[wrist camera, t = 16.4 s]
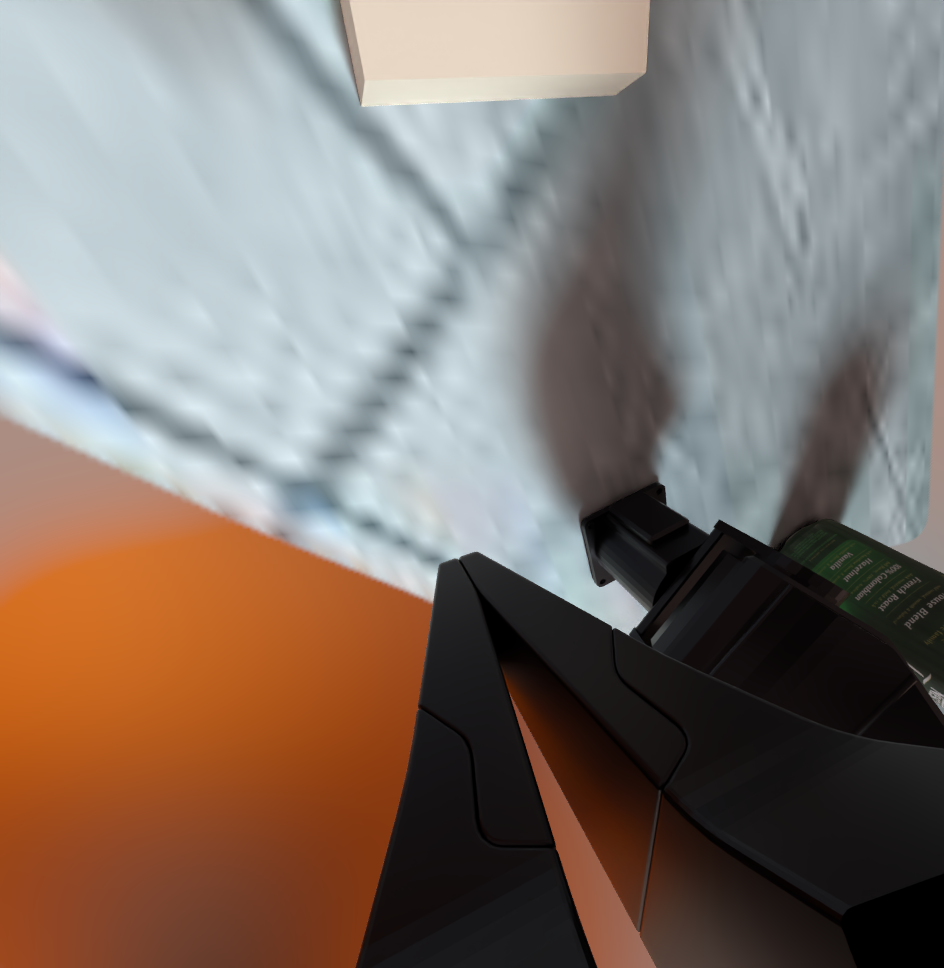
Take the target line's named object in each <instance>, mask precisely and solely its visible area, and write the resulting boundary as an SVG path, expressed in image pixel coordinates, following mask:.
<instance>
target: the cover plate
mask: <svg viewBox="0 0 944 968" xmlns="http://www.w3.org/2000/svg"><path fill="white" fill-rule="evenodd" d="M340 3H341V8H342V13H343V18H344V23H345V28H346V33H347V38H348V43H349V48H350V53H351V58H352V63H353V68H354V73H355V78H356V83H357V88H358V93H359V98H360V103H361V107H364V106H386V105H409V104H432V103H455V102H478V101H501V100H523V99H546V98H569V97H592V96H615V95H616V94H618V93H619V92H620V91H622V90H623V89H625V88H626V87H627V86H629V85H630V84H631V83H633V82H634V81H635V80H637V79H638V78H639V77H641V76H642V75H644V74H645V73H646V65H647V47H648V28H649V9H650V0H340Z"/></svg>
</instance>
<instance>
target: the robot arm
mask: <svg viewBox="0 0 944 968" xmlns="http://www.w3.org/2000/svg"><path fill="white" fill-rule="evenodd" d="M657 489H658V490H657ZM590 523H591V524H590ZM589 524H590V525H589ZM588 525H589V526H588ZM581 526H582V531H583V535H584V540H585V544H586V548H587V553H588V557H589V562H590V566H591V570H592V575H593V579H594V582H595V583H596V585H597V586H599V587H603V586H605V585H607V584H609V583H610V582H612V581H614V580H617V581H618V582H619V583H620V584H621V585H622V586H623V587H624V588H625V589H626V590H627V591H628V592H629V593H630V594H631V595H632V596H633V597H634V598H635V599H636V600H637V601H638V602H639V603H640V604H641V605H642V606H643V607H644V608H645V609H646V610H647V611H648V613H647V615H646V616H645V617H644V618H643V620H642V621H641V622H640V624H639V625H638V626H637V627H636V628H635V627H634V628H633V630H632V631H631V632H630V634H629V635H630V636H629V635H627V634H625V633H623V632H622V631H620V630H618V629H616V628H614V629H613V630H612V627H611V626H610V625H609V624H607V623H605V622H603V621H601V620H600V619H598V618H596V617H594V616H592V615H591V614H589V613H587V612H585V611H583V610H582V609H580V608H578V607H576V606H574V605H573V604H571V603H569V602H567V601H565V600H564V599H562V598H560V597H558V596H556V595H555V594H553V593H551V592H549V591H547V590H546V589H544V588H542V587H540V586H538V585H537V584H535V583H533V582H531V581H529V580H528V579H526V578H524V577H522V576H520V575H519V574H517V573H515V572H513V571H511V570H510V569H508V568H506V567H504V566H502V565H501V564H499V563H497V562H495V561H493V560H492V559H490V558H488V557H486V556H484V555H483V554H481V553H479V552H473V553H470V554H467V555H464V556H461V557H460V558H459V560H458V559H452V560H449V561H446V562H443V563H441V564H440V565H439V568H438V574H437V581H436V588H435V594H434V601H433V608H432V615H431V621H430V629H429V635H428V642H427V648H426V656H425V662H424V669H423V675H422V682H421V689H420V695H419V702H418V709H419V710H418V711H417V714H416V721H415V727H414V735H413V740H412V745H411V751H410V756H409V762H408V767H407V772H406V777H405V781H404V785H403V789H402V794H401V798H400V802H399V806H398V810H397V814H396V818H395V822H394V826H393V829H392V833H391V837H390V841H389V844H388V848H387V852H386V856H385V859H384V863H383V867H382V871H381V874H380V878H379V882H378V886H377V889H376V893H375V897H374V901H373V904H372V908H371V912H370V916H369V919H368V923H367V927H366V931H365V935H364V938H363V942H362V945H361V949H360V953H359V956H358V960H357V963H356V967H355V968H597V965H596V963H595V960H594V957H593V955H592V952H591V949H590V946H589V944H588V941H587V938H586V936H585V933H584V930H583V927H582V924H581V921H580V919H579V916H578V913H577V910H576V907H575V904H574V901H573V898H572V895H571V892H570V889H569V886H568V882H567V879H566V876H565V873H564V870H563V867H562V863H561V861H560V857H559V854H558V852H557V850H556V845H555V841H554V837H553V835H552V831H551V828H550V824H549V821H548V818H547V815H546V811H545V808H544V805H543V802H542V798H541V795H540V792H539V789H538V785H537V782H536V779H535V776H534V772H533V769H532V766H531V763H530V759H529V756H528V753H527V749H526V746H525V743H524V740H523V736H522V733H521V730H520V727H519V724H518V720H517V717H516V714H515V710H514V707H513V704H512V701H511V697H512V699H513V700H514V702H515V704H516V706H517V708H518V710H519V712H520V714H521V715H522V717H523V719H524V721H525V723H526V725H527V727H528V728H529V730H530V732H531V734H532V736H533V738H534V740H535V741H536V743H537V745H538V747H539V749H540V751H541V753H542V755H543V756H544V758H545V760H546V762H547V764H548V766H549V768H550V769H551V771H552V773H553V775H554V777H555V779H556V780H557V783H558V784H559V786H560V788H561V790H562V792H563V794H564V795H565V797H566V799H567V801H568V803H569V805H570V807H571V809H572V810H573V812H574V814H575V816H576V818H577V820H578V822H579V823H580V825H581V827H582V829H583V831H584V832H585V835H586V837H587V838H588V840H589V842H590V843H591V846H592V848H593V850H594V851H595V853H596V855H597V857H598V859H599V861H600V863H601V864H602V866H603V868H604V870H605V872H606V874H607V876H608V877H609V879H610V881H611V883H612V885H613V887H614V888H615V890H616V892H617V894H618V896H619V898H620V900H621V902H622V903H623V905H624V907H625V909H626V911H627V913H628V915H629V917H630V918H631V920H632V922H633V924H634V926H635V928H636V930H637V931H638V932H640V937H641V939H642V941H643V943H644V945H645V947H646V949H647V950H648V952H649V954H650V956H651V958H652V959H653V961H654V963H655V965H656V967H657V968H944V715H943V714H942V712H941V711H940V709H939V708H938V706H937V705H936V703H935V702H934V701H933V699H932V698H931V696H930V695H929V693H928V692H927V690H926V689H925V688H924V686H923V685H922V683H921V682H920V680H919V679H918V678H917V676H916V675H915V673H914V672H913V670H912V669H911V668H910V666H909V665H908V663H907V662H906V660H905V659H904V658H903V656H902V655H901V653H900V652H899V650H898V649H897V648H896V646H895V645H894V643H893V642H892V641H891V640H890V639H889V638H888V637H886V636H885V635H884V634H882V633H881V632H879V631H877V630H876V629H874V628H872V627H871V626H869V625H868V624H866V623H864V622H863V621H861V620H859V619H858V618H856V617H854V616H853V615H851V614H849V613H848V612H846V611H844V610H843V609H841V608H839V606H840V605H841V604H842V603H843V602H844V600H845V599H846V598H847V597H848V596H849V595H850V594H849V593H848V592H847V591H845V590H843V589H842V588H840V587H839V586H837V585H835V584H834V583H832V582H830V581H829V580H827V579H825V578H824V577H822V576H820V575H818V574H817V573H815V572H813V571H812V570H810V569H808V568H806V567H805V566H803V565H801V564H799V563H798V562H796V561H794V560H792V559H791V558H789V557H787V556H785V555H784V554H782V553H780V552H778V551H776V550H774V549H773V548H771V547H769V546H767V545H765V544H763V543H762V542H760V541H758V540H756V539H754V538H752V537H750V536H749V535H747V534H745V533H743V532H741V531H739V530H738V529H736V528H734V527H732V526H730V525H728V524H727V523H725V522H723V521H721V520H719V521H718V522H717V523H716V524H715V526H714V530H713V531H712V532H711V533H710V535H709V534H707V533H705V532H704V531H702V530H701V529H699V528H697V527H696V526H694V525H693V524H691V523H689V520H688V519H687V518H686V517H684V516H682V515H681V514H679V513H677V512H676V511H674V510H673V509H671V508H669V507H668V506H667V505H666V492H665V486H664V485H662V484H660V483H654V484H652V485H650V486H648V487H646V488H644V489H642V490H640V491H638V492H636V493H634V494H632V495H630V496H628V497H626V498H624V499H622V500H620V501H618V502H616V503H614V504H612V505H610V506H608V507H606V508H604V509H602V510H600V511H598V512H596V513H594V514H592V515H590V516H588V517H587V518H585V519H584V520H583V521H582V524H581ZM509 693H510V694H509ZM510 695H511V697H510Z"/></svg>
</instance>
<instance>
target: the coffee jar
mask: <svg viewBox="0 0 944 968" xmlns="http://www.w3.org/2000/svg"><path fill="white" fill-rule="evenodd" d="M780 553H782V554H784V555H785V556H787V557H789V558H791V559H792V560H794V561H796V562H798V563H799V564H801V565H803V566H805V567H806V568H808V569H810V570H812V571H813V572H815V573H817V574H818V575H820V576H822V577H824V578H825V579H827V580H829V581H830V582H832V583H834V584H835V585H837V586H839V587H840V588H842V589H843V590H845V591H847V592H848V593H849V594H850V595H849V596H848V597H847V598H846V599H845V600H844V602H843V603H842V604H841V605H840V606H839V608H841V609H843V610H844V611H846V612H848V613H849V614H851V615H853V616H854V617H856V618H858V619H859V620H861V621H863V622H864V623H866V624H868V625H869V626H871V627H872V628H874V629H876V630H877V631H879V632H881V633H882V634H884V635H885V636H886V637H888V638H889V639H890V640H891V641H892V642H893V643H894V645H895V646H896V648H897V649H898V650H899V652H900V653H901V655H902V656H903V658H904V659H905V660H906V662H907V663H908V665H909V666H910V668H911V669H912V670H913V672H914V673H915V675H916V676H917V678H918V679H919V680H920V682H921V683H922V685H923V686H924V688H925V689H926V690H927V692H928V693H929V695H930V696H931V698H932V699H933V701H935V702H936V703H937V704H939V705H940V706H942V707H943V708H944V574H943V573H941V572H939V571H937V570H935V569H933V568H930V567H928V566H926V565H924V564H922V563H920V562H918V561H916V560H914V559H912V558H910V557H908V556H906V555H904V554H902V553H900V552H898V551H896V550H894V549H892V548H890V547H888V546H886V545H884V544H882V543H880V542H878V541H876V540H874V539H872V538H870V537H868V536H866V535H864V534H862V533H860V532H858V531H855V530H853V529H851V528H849V527H847V526H845V525H843V524H840V523H838V522H836V521H834V520H830V519H824V520H820V521H817V522H815V523H813V524H811V525H809V526H806V527H804V528H802V529H800V530H799V531H797V532H796V533H795V534H793V535H792V536H791V537H790V538H789V539H788V540H787V541H786V542H785V545H784V547H783V548H782V549H781V551H780Z"/></svg>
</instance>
